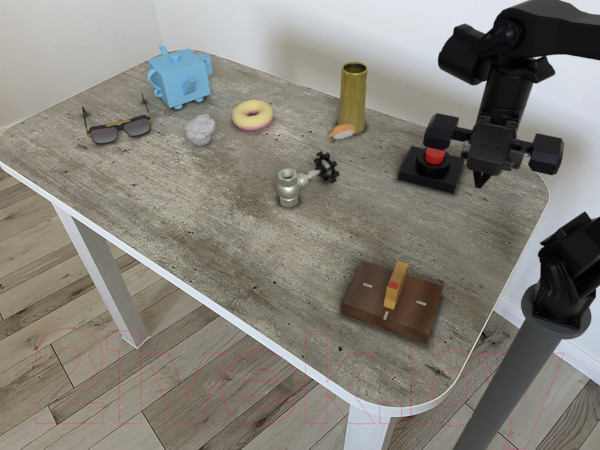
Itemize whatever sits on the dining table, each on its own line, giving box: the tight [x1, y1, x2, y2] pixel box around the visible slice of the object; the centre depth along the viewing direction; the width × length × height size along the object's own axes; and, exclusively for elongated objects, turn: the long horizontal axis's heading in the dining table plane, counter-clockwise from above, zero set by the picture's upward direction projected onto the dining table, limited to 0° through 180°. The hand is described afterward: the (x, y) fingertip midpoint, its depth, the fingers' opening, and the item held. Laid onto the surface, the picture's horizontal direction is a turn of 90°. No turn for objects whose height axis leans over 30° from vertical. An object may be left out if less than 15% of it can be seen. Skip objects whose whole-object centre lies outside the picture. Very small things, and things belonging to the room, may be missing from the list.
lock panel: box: [341, 260, 444, 345], centre depth 74 cm, size 13×10×3 cm
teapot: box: [146, 44, 213, 110], centre depth 115 cm, size 16×18×11 cm
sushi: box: [328, 124, 355, 140], centre depth 105 cm, size 3×6×3 cm, turn 113°
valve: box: [276, 150, 341, 208], centre depth 91 cm, size 7×7×12 cm
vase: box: [337, 61, 368, 135], centre depth 104 cm, size 6×6×14 cm
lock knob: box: [384, 260, 409, 310], centre depth 71 cm, size 6×2×5 cm, turn 156°
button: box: [425, 147, 446, 164], centre depth 94 cm, size 4×4×2 cm
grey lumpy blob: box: [183, 113, 217, 147], centre depth 103 cm, size 6×7×7 cm
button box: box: [397, 145, 466, 195], centre depth 95 cm, size 11×9×4 cm
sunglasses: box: [81, 93, 153, 145], centre depth 110 cm, size 14×15×5 cm
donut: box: [231, 99, 274, 132], centre depth 110 cm, size 10×5×9 cm
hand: (478, 186), depth 76 cm, fingers closed
